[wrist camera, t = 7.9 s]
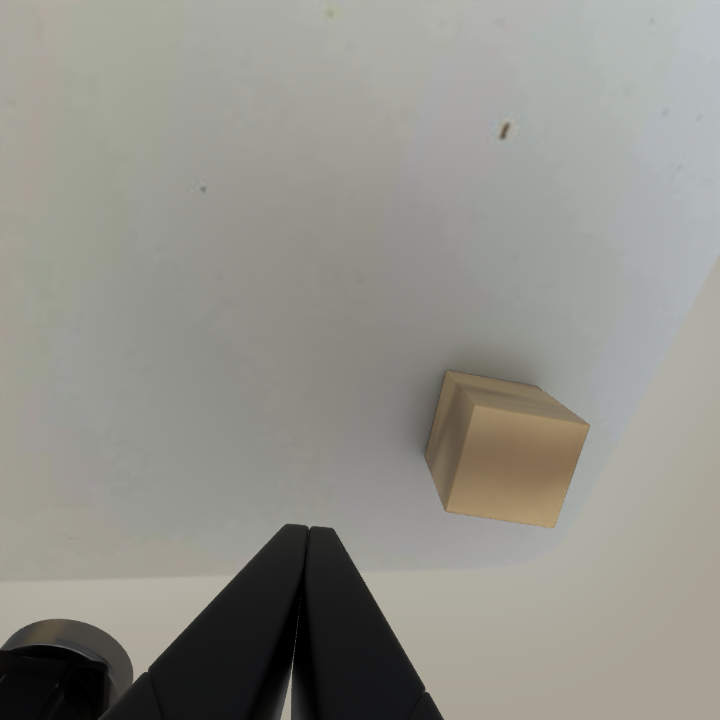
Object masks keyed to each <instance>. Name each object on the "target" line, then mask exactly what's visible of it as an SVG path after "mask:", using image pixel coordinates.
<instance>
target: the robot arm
mask: <svg viewBox="0 0 720 720" xmlns="http://www.w3.org/2000/svg"><path fill="white" fill-rule="evenodd" d="M308 534H309V536H308ZM307 542H308V543H307ZM306 550H307V551H306ZM299 608H300V609H299ZM298 616H299V617H298ZM297 624H298V625H297ZM296 632H297V634H296ZM295 640H296V642H295ZM294 648H295V650H294ZM293 656H294V659H293ZM292 662H293V671H292V690H291V691H292V692H291V693H292V694H291V720H444V719H443V717H442V715H441V714H440V712H439V710H438V708H437V706H436V705H435V703H434V701H433V699H432V698H431V696H430V694H429V693H428V692H425V686H424V684H423V683H422V681H421V679H420V677H419V676H418V674H417V672H416V671H415V669H414V667H413V665H412V663H411V662H410V660H409V658H408V657H407V655H406V653H405V651H404V650H403V648H402V646H401V645H400V643H399V641H398V639H397V638H396V636H395V634H394V632H393V631H392V629H391V627H390V625H389V624H388V622H387V621H386V618H385V617H384V615H383V613H382V612H381V610H380V608H379V606H378V605H377V603H376V601H375V600H374V598H373V596H372V594H371V592H370V591H369V589H368V587H367V586H366V584H365V582H364V581H363V579H362V577H361V575H360V573H359V572H358V570H357V568H356V567H355V565H354V563H353V561H352V560H351V558H350V556H349V554H348V553H347V551H346V549H345V547H344V546H343V544H342V542H341V541H340V539H339V537H338V535H337V534H336V532H335V530H334V529H333V528H328V527H318V526H312V527H311V528H310V529H309V528H308V527H307V526H306V525H297V524H286V525H284V526H283V527H282V528H281V529H280V530H279V531H278V532H277V533H276V534H275V535H274V536H273V537H272V538H271V540H270V541H269V542H268V543H267V544H266V545H265V546H264V547H263V548H262V549H261V550H260V551H259V552H258V553H257V554H256V555H255V556H254V557H253V558H252V560H251V561H250V562H249V563H248V564H247V565H246V566H245V567H244V568H243V569H242V570H241V571H240V572H239V573H238V574H237V575H236V576H235V577H234V578H233V580H232V581H231V582H230V583H229V584H228V585H227V586H226V587H225V588H224V589H223V590H222V591H221V592H220V593H219V594H218V595H217V596H216V597H215V598H214V600H213V601H212V602H211V603H210V604H209V605H208V606H207V607H206V608H205V609H204V610H203V611H202V612H201V613H200V614H199V615H198V616H197V617H196V618H195V619H194V621H193V622H192V623H191V624H190V625H189V626H188V627H187V628H186V629H185V630H184V631H183V632H182V634H180V635H179V636H178V637H177V638H176V640H175V641H174V642H173V643H172V644H171V645H170V646H169V647H168V648H167V649H166V650H165V651H164V652H163V654H161V655H160V656H159V657H158V658H157V659H156V661H155V662H154V663H153V664H152V665H151V666H150V667H149V669H148V672H144V673H143V674H142V675H141V676H140V677H139V678H138V679H137V680H136V681H135V682H134V683H133V684H132V685H131V686H130V688H129V689H128V690H127V691H126V692H125V693H124V694H123V695H122V696H121V697H120V698H119V699H118V700H117V701H116V702H115V703H114V704H113V705H112V706H111V707H110V708H109V709H108V710H107V711H106V703H107V687H108V671H109V669H108V666H107V664H105V663H104V662H100V661H92V660H83V659H74V658H65V657H57V656H48V655H39V654H30V653H22V652H13V651H4V650H0V720H280V718H281V715H282V710H283V706H284V702H285V698H286V694H287V688H288V684H289V680H290V675H291V669H292Z"/></svg>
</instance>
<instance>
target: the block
mask: <svg viewBox="0 0 720 720" xmlns="http://www.w3.org/2000/svg"><path fill="white" fill-rule="evenodd" d="M589 427H590V425H589V424H588V423H587V422H585V421H584V420H583V419H581V418H580V417H579V416H577V415H576V414H574V413H573V412H572V411H570V410H569V409H568V408H566V407H565V406H564V405H562V404H561V403H559V402H558V401H557V400H555V399H554V398H553V397H551V396H550V395H549V394H547V393H546V392H544V391H543V390H542V389H540V388H539V387H537V386H531V385H526V384H520V383H515V382H509V381H503V380H498V379H492V378H487V377H481V376H475V375H470V374H464V373H459V372H453V371H446V374H445V378H444V382H443V386H442V390H441V394H440V398H439V402H438V406H437V410H436V414H435V417H434V421H433V425H432V429H431V433H430V437H429V441H428V445H427V449H426V453H425V460H426V462H427V465H428V468H429V470H430V473H431V476H432V478H433V481H434V483H435V486H436V489H437V491H438V494H439V497H440V499H441V502H442V505H443V507H444V510H445V511H446V512H450V513H457V514H463V515H470V516H477V517H483V518H490V519H496V520H503V521H510V522H516V523H523V524H530V525H536V526H543V527H549V528H554V527H555V524H556V521H557V519H558V516H559V513H560V510H561V507H562V504H563V501H564V499H565V496H566V493H567V490H568V487H569V484H570V481H571V479H572V476H573V473H574V470H575V467H576V464H577V461H578V459H579V456H580V453H581V450H582V447H583V444H584V441H585V438H586V436H587V433H588V430H589Z"/></svg>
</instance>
